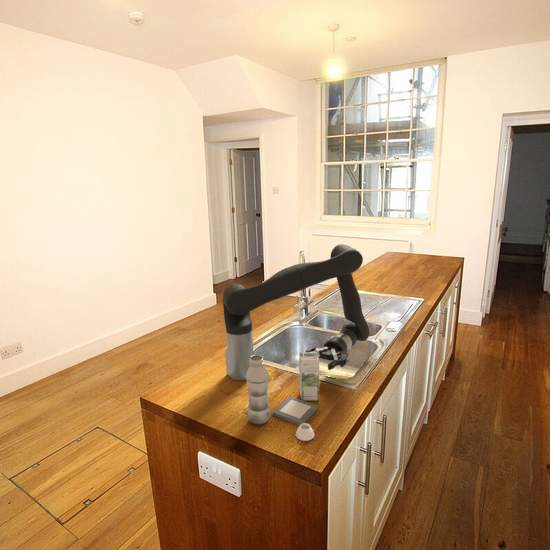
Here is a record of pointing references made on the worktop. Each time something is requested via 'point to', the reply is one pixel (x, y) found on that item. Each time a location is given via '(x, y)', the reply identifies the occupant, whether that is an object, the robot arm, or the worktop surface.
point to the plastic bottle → (258, 391)
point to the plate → (295, 410)
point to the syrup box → (309, 376)
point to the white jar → (305, 432)
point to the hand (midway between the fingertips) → (317, 364)
